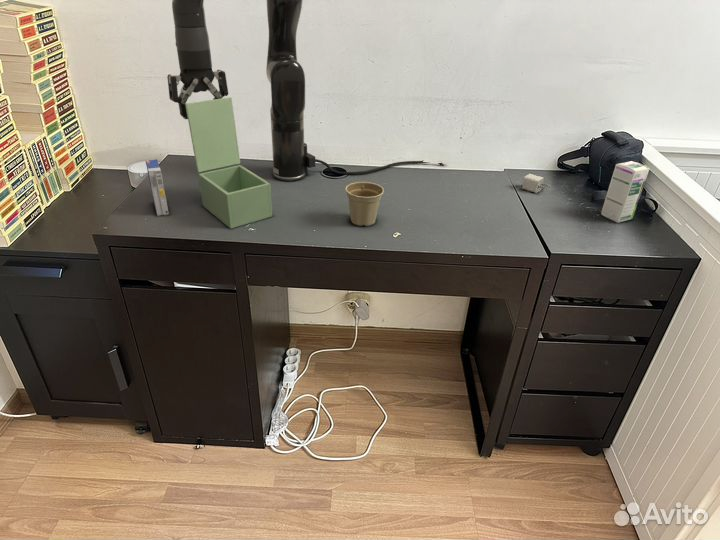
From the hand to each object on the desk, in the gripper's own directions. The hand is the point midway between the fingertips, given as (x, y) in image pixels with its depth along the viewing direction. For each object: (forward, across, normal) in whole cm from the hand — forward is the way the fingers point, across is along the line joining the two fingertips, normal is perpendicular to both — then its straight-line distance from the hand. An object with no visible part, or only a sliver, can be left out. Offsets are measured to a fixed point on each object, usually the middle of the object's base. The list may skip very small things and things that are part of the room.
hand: (202, 116), depth 127 cm
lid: (+3, 0, -6) cm, 7 cm away
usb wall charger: (+21, +77, -52) cm, 95 cm away
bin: (+21, 0, -14) cm, 25 cm away
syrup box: (+21, +80, -74) cm, 111 cm away
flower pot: (+21, +23, -38) cm, 49 cm away
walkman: (+21, -15, -2) cm, 26 cm away
